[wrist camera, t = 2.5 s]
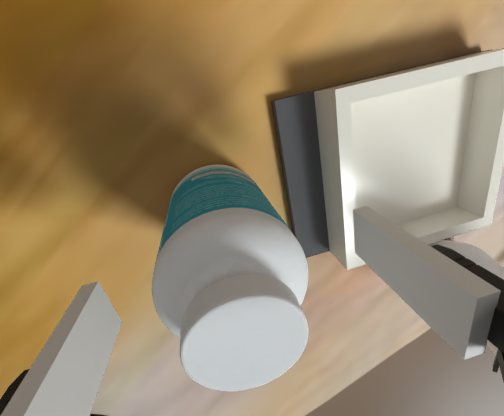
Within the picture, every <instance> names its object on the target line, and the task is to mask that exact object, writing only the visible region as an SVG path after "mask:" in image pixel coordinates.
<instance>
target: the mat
mask: <svg viewBox="0 0 504 416" xmlns="http://www.w3.org/2000/svg"><path fill="white" fill-rule="evenodd" d="M492 50H493V49H492ZM487 51H490V50H487ZM481 52H485V51H481ZM477 53H480V52H477ZM473 54H475V53H473ZM469 55H471V54H469ZM464 56H467V55H464ZM460 57H463V56H460ZM456 58H458V57H456ZM452 59H454V58H452ZM447 60H450V59H447ZM443 61H446V60H443ZM439 62H442V61H439ZM435 63H437V62H435ZM431 64H433V63H431ZM426 65H429V64H426ZM422 66H425V65H422ZM418 67H420V66H418ZM414 68H416V67H414ZM409 69H412V68H409ZM405 70H408V69H405ZM401 71H403V70H401ZM397 72H399V71H397ZM392 73H395V72H392ZM388 74H391V73H388ZM384 75H386V74H384ZM380 76H382V75H380ZM375 77H378V76H375ZM371 78H374V77H371ZM367 79H370V78H367ZM363 80H365V79H363ZM358 81H361V80H358ZM354 82H357V81H354ZM350 83H353V82H350ZM346 84H348V83H346ZM342 85H344V84H342ZM337 86H340V85H337ZM333 87H336V86H333ZM329 88H331V87H329ZM325 89H327V88H325ZM320 90H323V89H320ZM316 91H319V90H316ZM314 92H315V91H312V92H308V93H303V94H299V95H295V96H291V97H286V98H282V99H278V100H274V101H272V107H273V113H274V119H275V125H276V131H277V137H278V143H279V150H280V156H281V162H282V168H283V174H284V180H285V186H286V193H287V199H288V205H289V211H290V217H291V223H292V229H293V235H294V236H295V237H296V239H297V240H298V242H299V243H300V245H301V247H302V249H303V251H304V254H305V257H306V258H307V257H311V256H314V255H317V254H321V253H324V252H327V251H330V250H329V240H328V229H327V219H326V209H325V199H324V189H323V178H322V168H321V158H320V148H319V138H318V128H317V117H316V107H315V97H314Z"/></svg>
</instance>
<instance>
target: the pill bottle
mask: <svg viewBox="0 0 504 416" xmlns="http://www.w3.org/2000/svg"><path fill="white" fill-rule="evenodd" d="M307 284H308V266H307V260H306V257H305V254H304V251H303V249H302V247H301V245H300V243H299V242H298V240H297V239H296V237H295V236H294V235H293V233H292V232H291V230H290V229H289V228H288V226H287V225H286V224H285V222H284V221H283V220H282V218H281V217H280V216H279V214H278V213H277V212H276V210H275V209H274V208H273V206H272V205H271V203H270V202H269V201H268V199H267V198H266V197H265V195H264V194H263V193H262V191H261V190H260V188H259V187H258V186H257V184H256V183H255V182H254V181H253V180H252V179H251V178H250V177H249V176H248V175H247V174H246V173H244V172H243V171H241V170H239V169H237V168H234V167H232V166H228V165H219V164H215V165H207V166H203V167H200V168H197V169H195V170H193V171H192V172H190V173H189V174H187V175H186V176H185V177H184V178H183V179H182V180H181V181H180V182H179V183H178V185H177V186H176V188H175V189H174V191H173V194H172V196H171V200H170V203H169V207H168V212H167V216H166V220H165V225H164V229H163V234H162V238H161V242H160V246H159V251H158V255H157V259H156V263H155V268H154V273H153V278H152V296H153V302H154V305H155V308H156V311H157V313H158V315H159V317H160V319H161V320H162V322H163V323H164V324H165V325H166V327H167V328H168V329H169V330H170V331H171V332H172V333H173V334H175V335H176V336H177V337H178V338H180V358H181V363H182V366H183V368H184V370H185V372H186V373H187V374H188V375H189V376H190V377H191V378H192V379H193V380H194V381H195V382H197V383H198V384H200V385H202V386H204V387H206V388H210V389H213V390H219V391H241V390H246V389H251V388H255V387H258V386H261V385H264V384H266V383H268V382H270V381H272V380H274V379H276V378H278V377H279V376H281V375H282V374H283V373H285V372H286V371H287V370H288V369H289V368H291V367H292V366H293V365H294V363H295V362H296V361H297V360H298V359H299V357H300V356H301V354H302V353H303V351H304V349H305V347H306V344H307V340H308V332H309V331H308V324H307V320H306V317H305V315H304V313H303V311H302V308H301V306H300V305H301V304H302V301H303V299H304V296H305V293H306V289H307Z"/></svg>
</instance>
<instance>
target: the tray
mask: <svg viewBox="0 0 504 416" xmlns="http://www.w3.org/2000/svg"><path fill="white" fill-rule="evenodd" d="M314 97H315V107H316V117H317V128H318V138H319V148H320V158H321V168H322V178H323V189H324V199H325V209H326V219H327V229H328V240H329V250H330V252H331V253H332V254H333V255H334V256H335V257H336V258H337V259H338V260H339V262H340V263H341V264H342V265H343V266H344V267H345V268H346V269H347V270H349V269H352V268H355V267H358V266H361V265H365V264H366V263H365V262H364V261H363V260H362V259H361V258H360V257H359V256H358V255H357V254H356V253H355V242H354V220H353V209H357V208H360V207H364V206H368V207H369V208H371V209H373V210H374V211H376V212H377V213H379V214H380V215H382V216H384V217H385V218H387V219H388V220H390V221H391V222H393V223H395V224H396V225H398V226H399V227H401V228H402V229H404V230H406V231H407V232H409V233H410V234H412V235H413V236H415V237H417V238H418V239H420V240H421V241H423V242H425V243H426V244H431V243H434V242H437V241H440V240H443V239H446V238H450V237H453V236H456V235H459V234H462V233H465V232H468V231H472V230H475V229H478V228H481V227H484V226H487V225H490V224H492V219H493V214H494V209H495V204H496V199H497V194H498V190H499V185H500V180H501V175H502V170H503V165H504V48H502V49H496V50H490V51H485V52H480V53H475V54H471V55H467V56H463V57H458V58H454V59H450V60H446V61H442V62H437V63H433V64H429V65H425V66H420V67H416V68H412V69H408V70H403V71H399V72H395V73H391V74H386V75H382V76H378V77H374V78H370V79H365V80H361V81H357V82H353V83H348V84H344V85H340V86H336V87H331V88H327V89H323V90H319V91H315V92H314Z"/></svg>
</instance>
